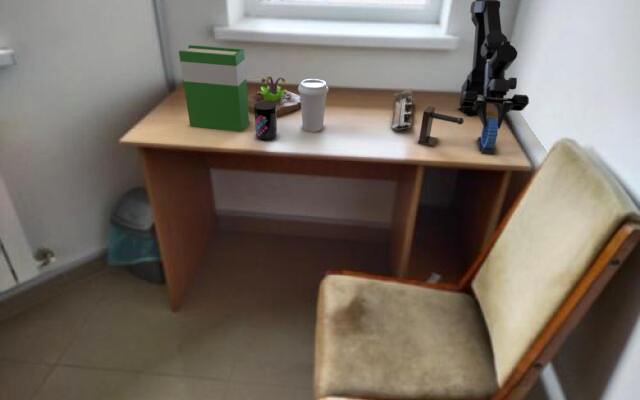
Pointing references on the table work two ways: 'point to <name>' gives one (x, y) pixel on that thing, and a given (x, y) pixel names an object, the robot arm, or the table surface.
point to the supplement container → (265, 120)
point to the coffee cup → (313, 103)
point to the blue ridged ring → (489, 133)
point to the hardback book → (215, 87)
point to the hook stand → (427, 124)
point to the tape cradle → (485, 151)
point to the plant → (275, 97)
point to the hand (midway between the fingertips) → (491, 127)
